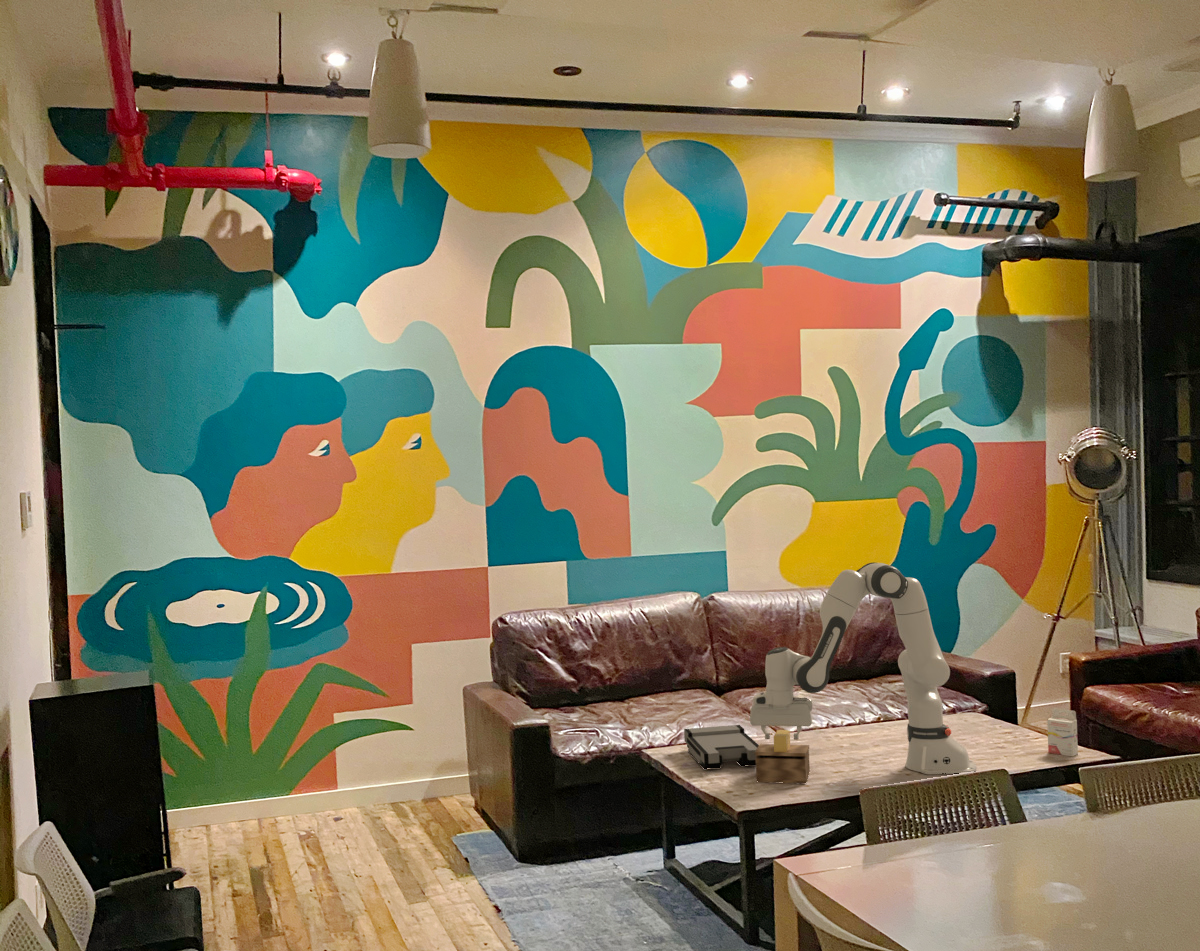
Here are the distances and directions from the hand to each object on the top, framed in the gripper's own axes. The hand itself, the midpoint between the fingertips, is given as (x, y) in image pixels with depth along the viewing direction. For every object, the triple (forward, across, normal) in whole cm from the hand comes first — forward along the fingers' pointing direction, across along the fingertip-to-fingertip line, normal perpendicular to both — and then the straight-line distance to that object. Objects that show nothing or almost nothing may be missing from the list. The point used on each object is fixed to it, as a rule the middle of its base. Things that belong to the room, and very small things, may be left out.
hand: (781, 739), depth 366 cm
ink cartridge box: (+13, -91, -39) cm, 100 cm away
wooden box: (+13, 0, 0) cm, 13 cm away
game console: (+13, +23, -20) cm, 33 cm away
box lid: (+4, 0, 0) cm, 4 cm away
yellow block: (+3, 0, 0) cm, 3 cm away
